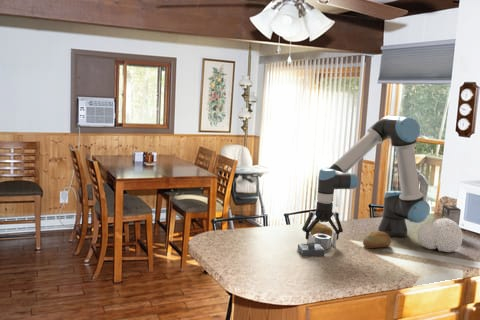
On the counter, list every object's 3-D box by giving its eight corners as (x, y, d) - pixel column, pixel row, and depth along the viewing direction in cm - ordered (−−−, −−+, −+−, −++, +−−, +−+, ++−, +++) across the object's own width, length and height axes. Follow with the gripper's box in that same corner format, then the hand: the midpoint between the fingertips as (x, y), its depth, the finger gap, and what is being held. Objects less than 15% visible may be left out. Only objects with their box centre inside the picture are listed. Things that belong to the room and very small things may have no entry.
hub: (326, 243, 231) (327, 233, 230) (332, 249, 223) (332, 238, 222) (310, 243, 229) (311, 233, 229) (315, 249, 222) (316, 238, 221)
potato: (322, 244, 229) (323, 228, 228) (304, 236, 241) (305, 221, 240) (337, 242, 234) (338, 226, 233) (319, 234, 246) (320, 219, 245)
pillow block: (318, 250, 220) (319, 233, 219) (324, 256, 211) (325, 239, 210) (297, 249, 219) (298, 233, 218) (302, 256, 210) (303, 239, 209)
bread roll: (396, 249, 229) (397, 232, 227) (371, 251, 223) (372, 235, 221) (382, 242, 237) (384, 227, 236) (358, 245, 231) (359, 229, 230)
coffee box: (439, 233, 261) (442, 204, 258) (450, 233, 261) (454, 205, 258) (445, 238, 252) (449, 208, 249) (458, 238, 251) (461, 209, 249)
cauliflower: (466, 231, 234) (453, 207, 228) (470, 257, 220) (456, 232, 214) (425, 241, 244) (412, 218, 238) (427, 266, 230) (413, 243, 224)
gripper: (346, 200, 228) (343, 243, 231) (297, 199, 225) (294, 243, 228) (352, 204, 221) (348, 248, 224) (301, 202, 218) (298, 248, 221)
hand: (321, 246), depth 226 cm, fingers open, 12 cm apart
